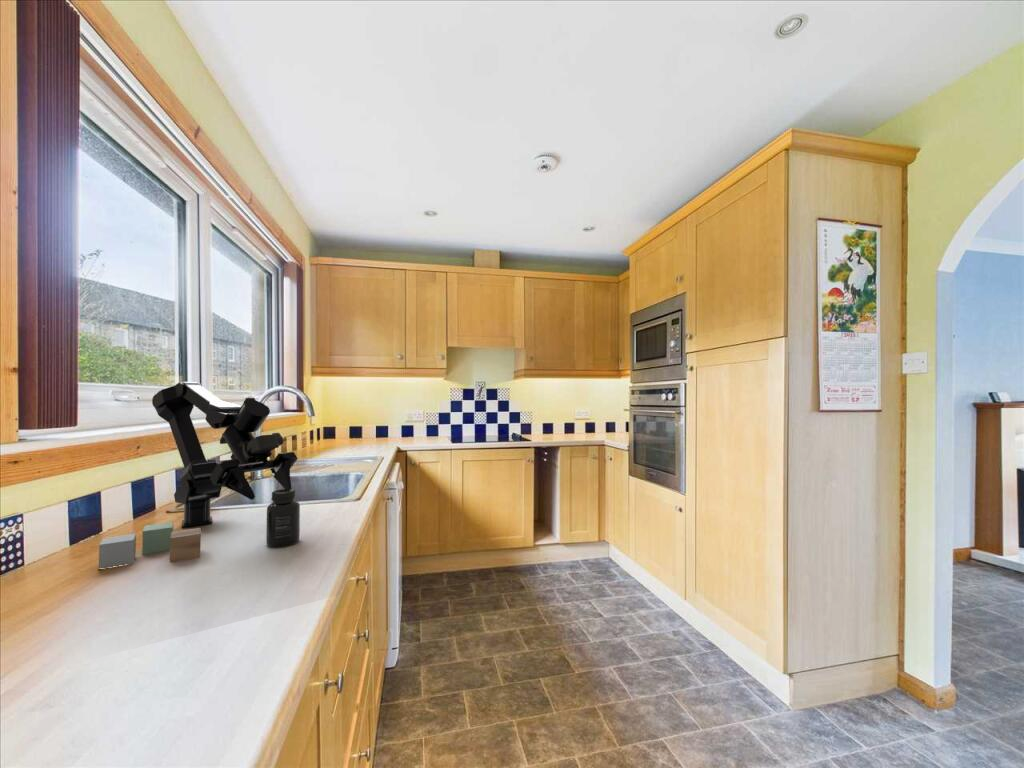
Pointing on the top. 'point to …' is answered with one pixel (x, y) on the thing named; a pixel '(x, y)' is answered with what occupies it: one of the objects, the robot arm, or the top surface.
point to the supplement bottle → (283, 519)
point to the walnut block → (185, 544)
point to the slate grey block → (117, 550)
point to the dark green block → (157, 537)
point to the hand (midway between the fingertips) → (272, 494)
